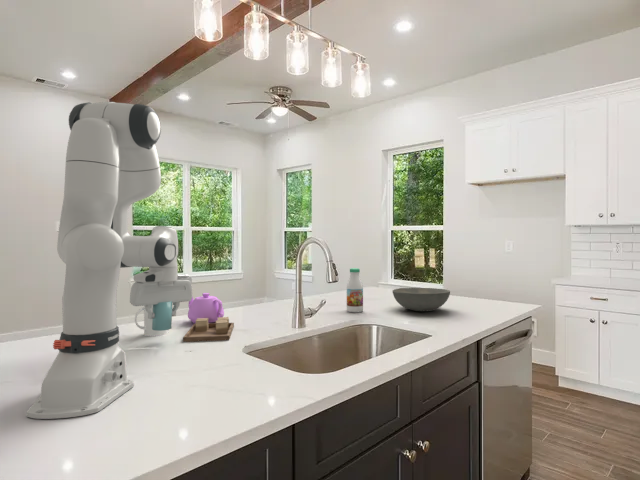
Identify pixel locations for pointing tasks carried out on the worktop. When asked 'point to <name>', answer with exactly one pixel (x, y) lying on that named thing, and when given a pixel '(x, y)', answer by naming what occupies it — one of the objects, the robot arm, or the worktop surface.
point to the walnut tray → (207, 334)
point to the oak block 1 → (201, 324)
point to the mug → (149, 324)
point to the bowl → (421, 298)
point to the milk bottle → (354, 292)
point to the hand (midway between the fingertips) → (162, 317)
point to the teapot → (205, 308)
